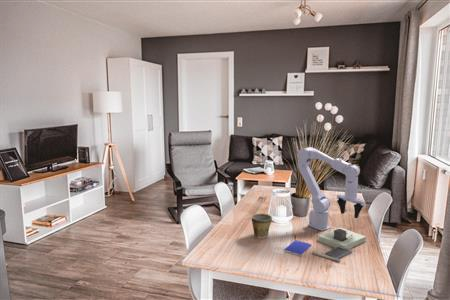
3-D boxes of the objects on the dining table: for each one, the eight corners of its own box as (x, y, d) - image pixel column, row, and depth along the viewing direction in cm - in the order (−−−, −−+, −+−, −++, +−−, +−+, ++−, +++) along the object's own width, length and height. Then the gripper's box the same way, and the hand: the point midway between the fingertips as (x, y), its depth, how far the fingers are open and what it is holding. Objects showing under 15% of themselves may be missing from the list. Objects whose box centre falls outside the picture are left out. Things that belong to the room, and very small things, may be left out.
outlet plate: (318, 240, 156) (318, 235, 156) (340, 232, 167) (340, 227, 166) (343, 251, 145) (344, 245, 145) (365, 241, 155) (365, 236, 155)
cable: (311, 253, 142) (312, 251, 142) (313, 252, 143) (313, 250, 143) (339, 262, 135) (339, 260, 134) (340, 261, 136) (340, 259, 135)
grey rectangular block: (333, 242, 153) (334, 230, 153) (338, 240, 156) (339, 228, 155) (340, 245, 150) (341, 233, 149) (345, 243, 153) (346, 231, 152)
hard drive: (295, 239, 154) (283, 248, 144) (311, 244, 150) (301, 254, 140) (295, 242, 155) (283, 252, 145) (311, 247, 150) (300, 257, 140)
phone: (325, 254, 142) (325, 252, 142) (339, 247, 148) (340, 245, 148) (336, 259, 137) (337, 257, 137) (351, 252, 143) (351, 250, 143)
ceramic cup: (270, 241, 155) (271, 221, 153) (249, 239, 157) (250, 219, 155) (272, 230, 167) (272, 212, 166) (253, 229, 169) (253, 211, 168)
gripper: (333, 187, 164) (332, 213, 166) (360, 194, 153) (358, 221, 154) (341, 185, 168) (340, 210, 170) (368, 191, 157) (366, 218, 159)
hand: (349, 215), depth 163 cm, fingers open, 7 cm apart
